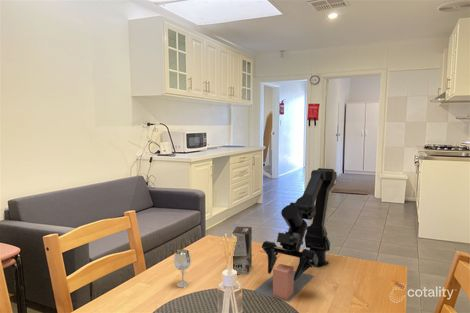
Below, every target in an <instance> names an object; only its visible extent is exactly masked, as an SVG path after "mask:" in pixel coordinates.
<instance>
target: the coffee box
mask: <svg viewBox="0 0 470 313" xmlns="http://www.w3.org/2000/svg"><path fill="white" fill-rule="evenodd" d="M252 231H253V230H252V227H251V226H236V227H235V228H234V230H233V232H232V233H231V235H232V234H233V235H235V236H236V237H237V242H236V245H235V250H234V256H233V269H234V270H236V271H237V274H238V275H239V276H240V275H242V276H244V275H245V276H246V275H247V276H248V275H249V274H250V272H251V269H252V267H253V265H252V264H253V262H252V261H253V259H252V258H253V257H252V256H253V252H252V251H253V248H252V246H253V244H252V240H253V237H252V236H253V235H252V233H253V232H252Z"/></svg>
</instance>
